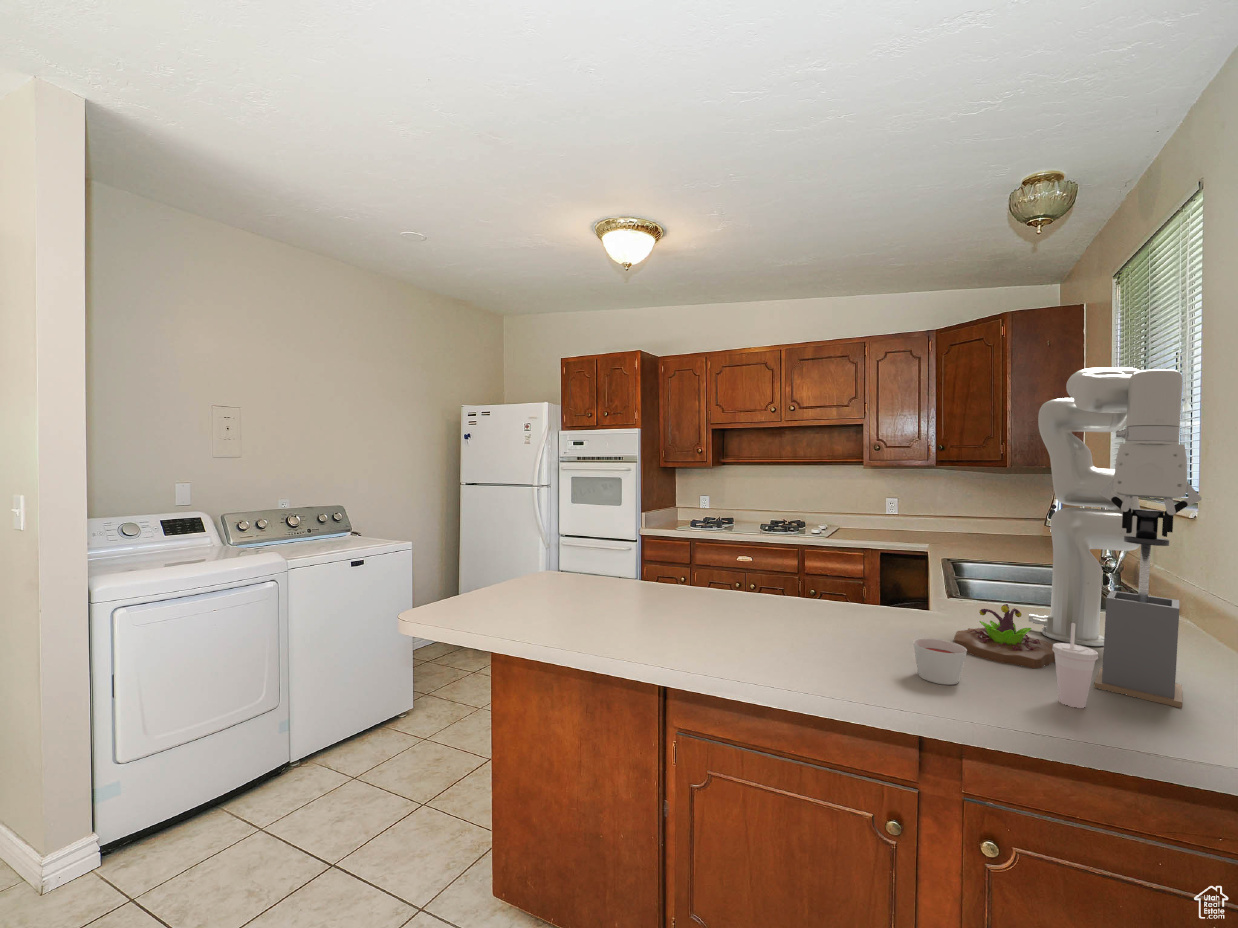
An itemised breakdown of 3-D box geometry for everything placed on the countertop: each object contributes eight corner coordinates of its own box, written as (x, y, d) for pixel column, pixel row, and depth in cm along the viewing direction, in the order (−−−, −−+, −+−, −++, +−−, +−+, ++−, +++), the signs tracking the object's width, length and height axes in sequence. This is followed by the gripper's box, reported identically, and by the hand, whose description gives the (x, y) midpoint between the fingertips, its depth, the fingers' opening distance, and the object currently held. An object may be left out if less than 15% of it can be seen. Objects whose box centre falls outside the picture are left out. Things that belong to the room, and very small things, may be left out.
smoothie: (1040, 696, 108) (1044, 618, 107) (1073, 696, 108) (1078, 618, 108) (1070, 711, 101) (1074, 628, 101) (1105, 711, 102) (1110, 629, 102)
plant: (940, 650, 134) (943, 600, 133) (966, 633, 148) (968, 588, 147) (1050, 676, 120) (1053, 620, 119) (1066, 655, 134) (1069, 605, 133)
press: (1094, 687, 113) (1099, 597, 113) (1100, 672, 122) (1104, 588, 121) (1181, 707, 105) (1187, 610, 104) (1181, 689, 114) (1186, 600, 113)
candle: (903, 668, 119) (905, 637, 119) (949, 671, 119) (951, 639, 119) (925, 686, 110) (927, 652, 110) (975, 688, 110) (977, 654, 110)
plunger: (1115, 638, 113) (1122, 509, 112) (1117, 631, 118) (1124, 507, 118) (1165, 648, 108) (1173, 512, 108) (1166, 640, 113) (1173, 511, 113)
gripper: (1092, 435, 115) (1087, 530, 116) (1216, 436, 104) (1210, 541, 104) (1096, 437, 121) (1091, 528, 121) (1214, 438, 109) (1208, 538, 110)
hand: (1146, 533), depth 113 cm, fingers closed on plunger, 4 cm apart
